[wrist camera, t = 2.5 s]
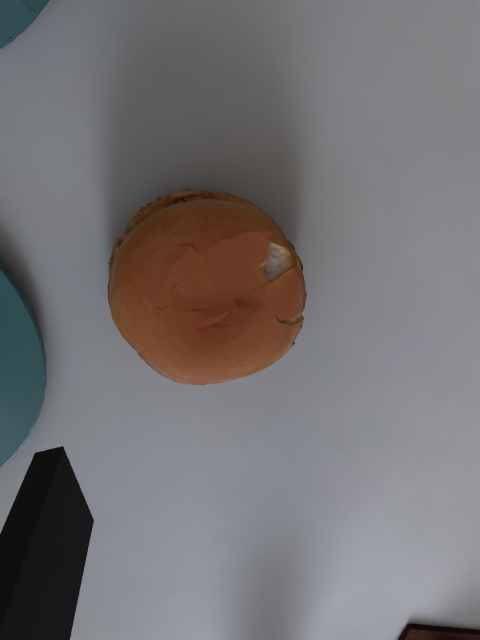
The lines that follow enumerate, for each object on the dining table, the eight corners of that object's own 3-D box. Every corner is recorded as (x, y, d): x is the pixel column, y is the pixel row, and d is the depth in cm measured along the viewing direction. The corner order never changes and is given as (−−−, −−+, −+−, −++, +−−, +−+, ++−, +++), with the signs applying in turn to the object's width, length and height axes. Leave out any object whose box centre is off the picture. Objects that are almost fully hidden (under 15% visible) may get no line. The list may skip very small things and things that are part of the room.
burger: (78, 299, 24) (60, 333, 20) (179, 147, 22) (183, 149, 18) (228, 387, 27) (240, 432, 23) (327, 261, 26) (360, 286, 21)
